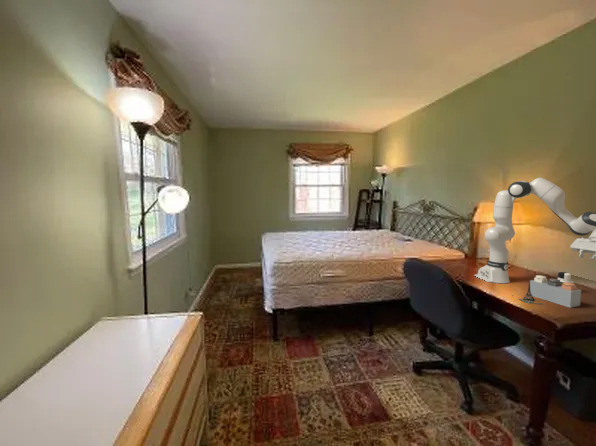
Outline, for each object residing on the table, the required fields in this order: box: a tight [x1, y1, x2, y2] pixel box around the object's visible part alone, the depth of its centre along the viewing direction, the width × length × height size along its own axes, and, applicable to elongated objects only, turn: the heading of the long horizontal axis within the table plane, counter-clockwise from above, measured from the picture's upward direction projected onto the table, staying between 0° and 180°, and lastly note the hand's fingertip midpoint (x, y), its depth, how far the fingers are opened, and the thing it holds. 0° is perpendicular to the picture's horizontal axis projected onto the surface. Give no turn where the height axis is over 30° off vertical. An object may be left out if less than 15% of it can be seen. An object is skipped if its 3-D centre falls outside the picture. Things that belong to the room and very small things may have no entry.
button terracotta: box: [562, 282, 577, 291], centre depth 170 cm, size 5×5×8 cm
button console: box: [530, 279, 582, 309], centre depth 178 cm, size 22×8×9 cm, turn 17°
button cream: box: [533, 274, 548, 283], centre depth 184 cm, size 5×5×8 cm
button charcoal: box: [547, 278, 561, 287], centre depth 177 cm, size 5×5×8 cm
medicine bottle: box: [557, 271, 575, 285], centre depth 192 cm, size 7×7×12 cm
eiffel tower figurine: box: [511, 279, 542, 305], centre depth 179 cm, size 15×10×13 cm
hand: (586, 258), depth 172 cm, fingers open, 4 cm apart
